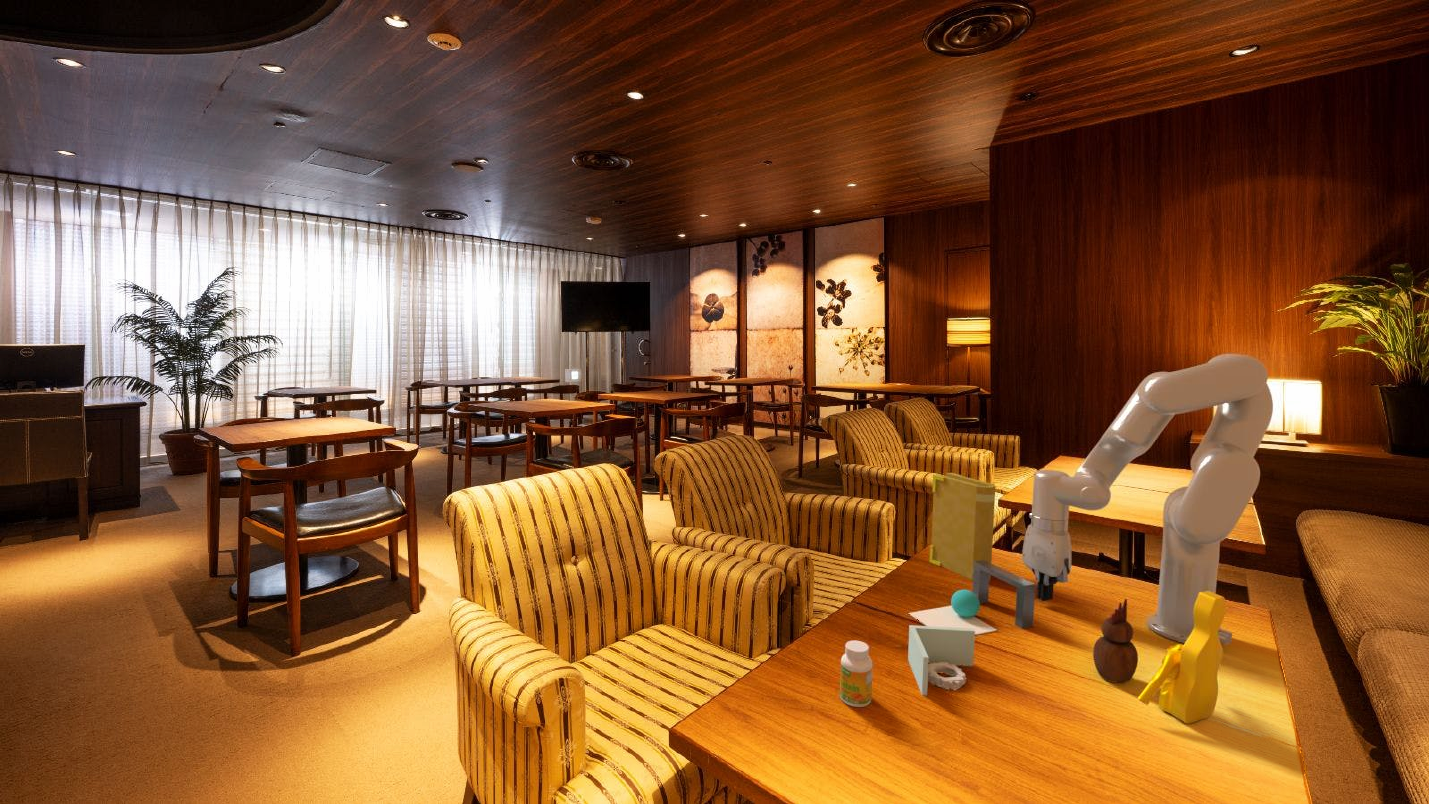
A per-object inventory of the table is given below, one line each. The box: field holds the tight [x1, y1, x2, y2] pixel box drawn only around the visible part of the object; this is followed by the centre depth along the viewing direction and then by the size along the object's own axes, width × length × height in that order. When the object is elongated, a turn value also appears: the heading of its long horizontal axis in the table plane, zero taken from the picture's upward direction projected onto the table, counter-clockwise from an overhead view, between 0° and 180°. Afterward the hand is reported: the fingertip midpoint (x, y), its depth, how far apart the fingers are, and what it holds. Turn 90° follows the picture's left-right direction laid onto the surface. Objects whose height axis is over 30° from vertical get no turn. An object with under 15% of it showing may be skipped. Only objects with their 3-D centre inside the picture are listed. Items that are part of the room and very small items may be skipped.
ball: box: [950, 589, 981, 617], centre depth 137 cm, size 6×6×6 cm
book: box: [928, 472, 996, 582], centre depth 164 cm, size 17×7×25 cm, turn 25°
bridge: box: [971, 560, 1036, 630], centre depth 139 cm, size 3×15×10 cm, turn 19°
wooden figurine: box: [1092, 598, 1139, 684], centre depth 112 cm, size 7×6×15 cm
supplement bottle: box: [839, 640, 874, 708], centre depth 105 cm, size 5×5×10 cm
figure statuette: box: [1137, 591, 1226, 724], centre depth 101 cm, size 18×8×22 cm, turn 110°
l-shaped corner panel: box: [907, 624, 976, 696], centre depth 112 cm, size 12×12×8 cm
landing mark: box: [908, 605, 998, 636], centre depth 135 cm, size 13×13×1 cm
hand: (1044, 598), depth 143 cm, fingers closed
